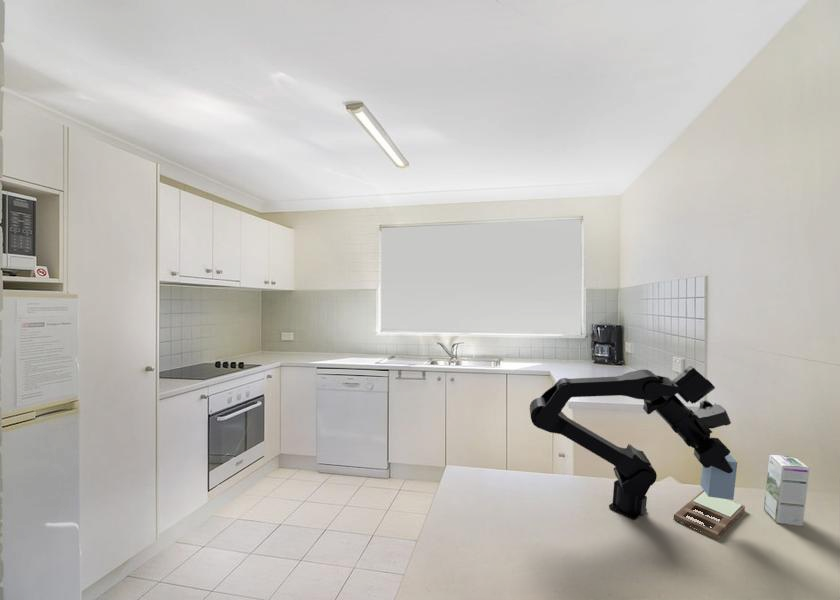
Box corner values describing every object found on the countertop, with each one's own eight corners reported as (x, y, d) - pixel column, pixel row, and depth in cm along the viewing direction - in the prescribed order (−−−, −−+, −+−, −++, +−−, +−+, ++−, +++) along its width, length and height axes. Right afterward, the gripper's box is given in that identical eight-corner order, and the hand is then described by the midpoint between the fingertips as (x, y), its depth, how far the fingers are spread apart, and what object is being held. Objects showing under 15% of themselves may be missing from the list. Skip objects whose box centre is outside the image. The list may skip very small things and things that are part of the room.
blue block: (708, 496, 102) (712, 459, 101) (700, 485, 107) (704, 449, 106) (733, 500, 101) (737, 462, 99) (724, 488, 105) (728, 452, 104)
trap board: (673, 519, 105) (674, 513, 105) (703, 494, 116) (704, 489, 116) (716, 539, 98) (717, 533, 98) (744, 510, 109) (745, 505, 109)
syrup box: (804, 526, 103) (812, 467, 101) (775, 523, 104) (782, 464, 103) (789, 512, 109) (796, 456, 107) (761, 509, 110) (768, 453, 108)
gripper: (723, 408, 93) (779, 465, 91) (692, 382, 111) (739, 429, 109) (678, 439, 96) (731, 495, 94) (655, 409, 114) (700, 455, 112)
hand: (726, 466), depth 102 cm, fingers closed on blue block, 5 cm apart
